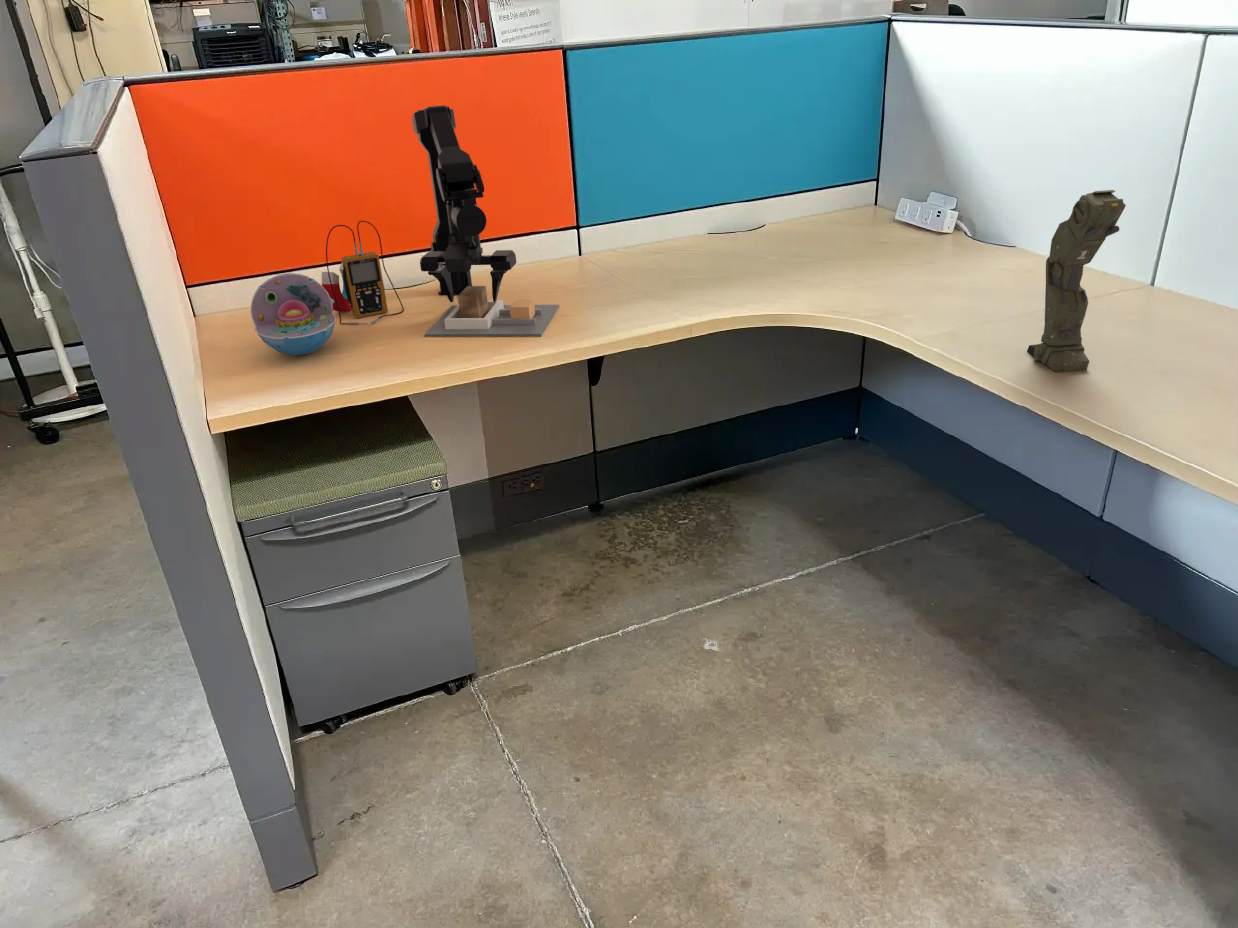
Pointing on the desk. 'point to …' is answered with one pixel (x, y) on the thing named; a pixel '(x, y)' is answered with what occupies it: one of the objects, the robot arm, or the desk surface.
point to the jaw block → (473, 302)
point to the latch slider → (522, 309)
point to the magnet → (336, 290)
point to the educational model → (293, 314)
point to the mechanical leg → (1073, 279)
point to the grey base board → (492, 322)
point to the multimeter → (363, 282)
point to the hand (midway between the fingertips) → (473, 301)
